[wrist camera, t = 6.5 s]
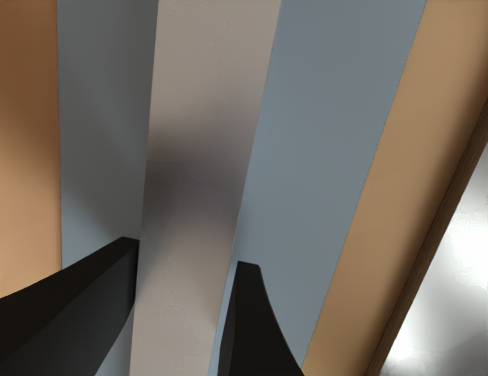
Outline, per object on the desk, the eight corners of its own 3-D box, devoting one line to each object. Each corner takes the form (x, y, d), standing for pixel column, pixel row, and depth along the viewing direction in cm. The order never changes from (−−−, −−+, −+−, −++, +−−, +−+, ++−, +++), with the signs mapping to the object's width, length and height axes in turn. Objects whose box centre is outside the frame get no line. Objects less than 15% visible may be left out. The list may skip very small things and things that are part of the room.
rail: (192, 452, 16) (180, 507, 14) (138, 440, 16) (119, 493, 14) (305, -110, 8) (311, -155, 6) (198, -131, 8) (173, -181, 6)
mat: (258, 484, 17) (258, 494, 17) (70, 442, 17) (66, 452, 17) (486, -195, 7) (498, -207, 7) (61, -275, 8) (50, -291, 7)
